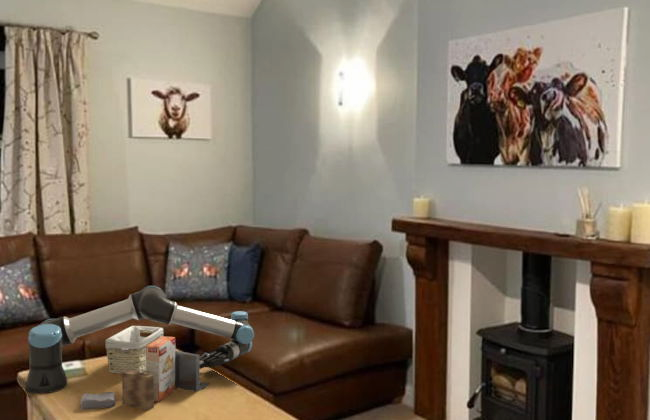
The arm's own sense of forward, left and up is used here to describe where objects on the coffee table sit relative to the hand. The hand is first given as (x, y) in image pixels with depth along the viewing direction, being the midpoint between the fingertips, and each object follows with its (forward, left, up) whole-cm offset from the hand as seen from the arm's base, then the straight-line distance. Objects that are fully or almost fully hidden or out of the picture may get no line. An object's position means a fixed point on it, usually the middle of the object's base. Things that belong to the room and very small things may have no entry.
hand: (192, 368), depth 254 cm
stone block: (-17, -32, -7) cm, 37 cm away
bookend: (0, -3, -6) cm, 7 cm away
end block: (-3, -28, -6) cm, 28 cm away
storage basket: (-35, +6, -7) cm, 36 cm away
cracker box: (-3, -15, -7) cm, 17 cm away
